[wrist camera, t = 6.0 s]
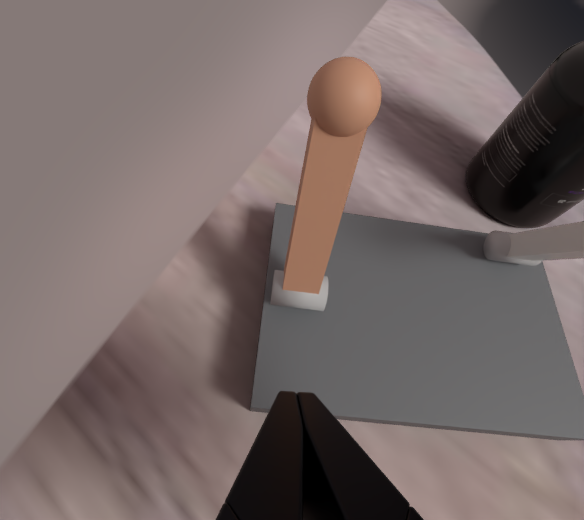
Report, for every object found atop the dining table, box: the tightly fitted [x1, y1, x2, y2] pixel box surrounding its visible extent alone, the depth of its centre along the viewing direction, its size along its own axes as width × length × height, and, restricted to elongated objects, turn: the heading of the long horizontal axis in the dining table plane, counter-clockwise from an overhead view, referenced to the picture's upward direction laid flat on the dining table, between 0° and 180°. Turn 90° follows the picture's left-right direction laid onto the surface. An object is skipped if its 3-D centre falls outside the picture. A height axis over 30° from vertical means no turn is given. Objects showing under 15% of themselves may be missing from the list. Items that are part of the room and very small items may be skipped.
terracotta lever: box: [270, 57, 381, 311], centre depth 13 cm, size 2×2×10 cm
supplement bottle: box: [466, 41, 584, 228], centre depth 19 cm, size 7×7×12 cm
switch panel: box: [250, 203, 584, 440], centre depth 18 cm, size 10×16×2 cm
